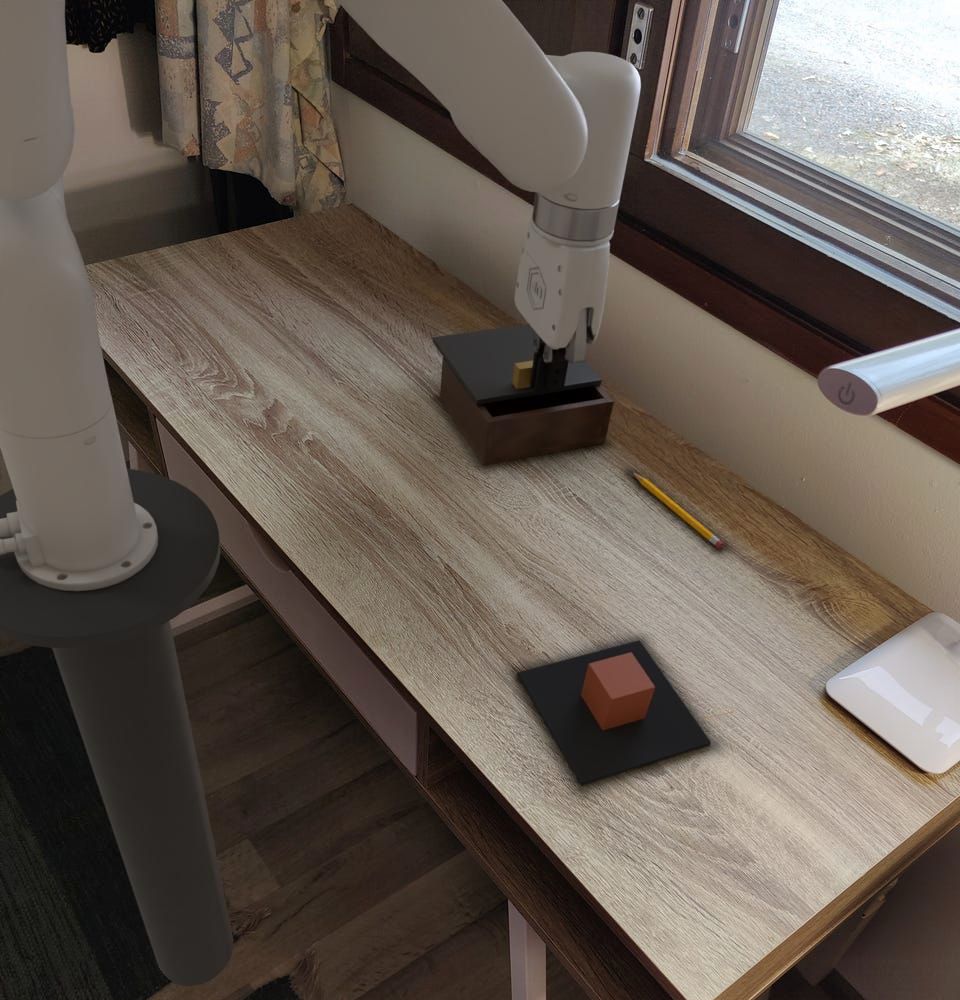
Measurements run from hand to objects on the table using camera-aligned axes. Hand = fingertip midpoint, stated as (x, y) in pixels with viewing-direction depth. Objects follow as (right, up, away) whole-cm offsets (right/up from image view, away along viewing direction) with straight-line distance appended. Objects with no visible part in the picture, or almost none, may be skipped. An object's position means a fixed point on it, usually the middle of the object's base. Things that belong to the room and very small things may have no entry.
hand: (546, 388), depth 102 cm
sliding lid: (-3, +4, +5) cm, 8 cm away
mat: (+4, -32, -20) cm, 38 cm away
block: (+4, -32, -20) cm, 38 cm away
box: (-2, -2, +8) cm, 8 cm away
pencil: (+13, -13, -1) cm, 18 cm away
